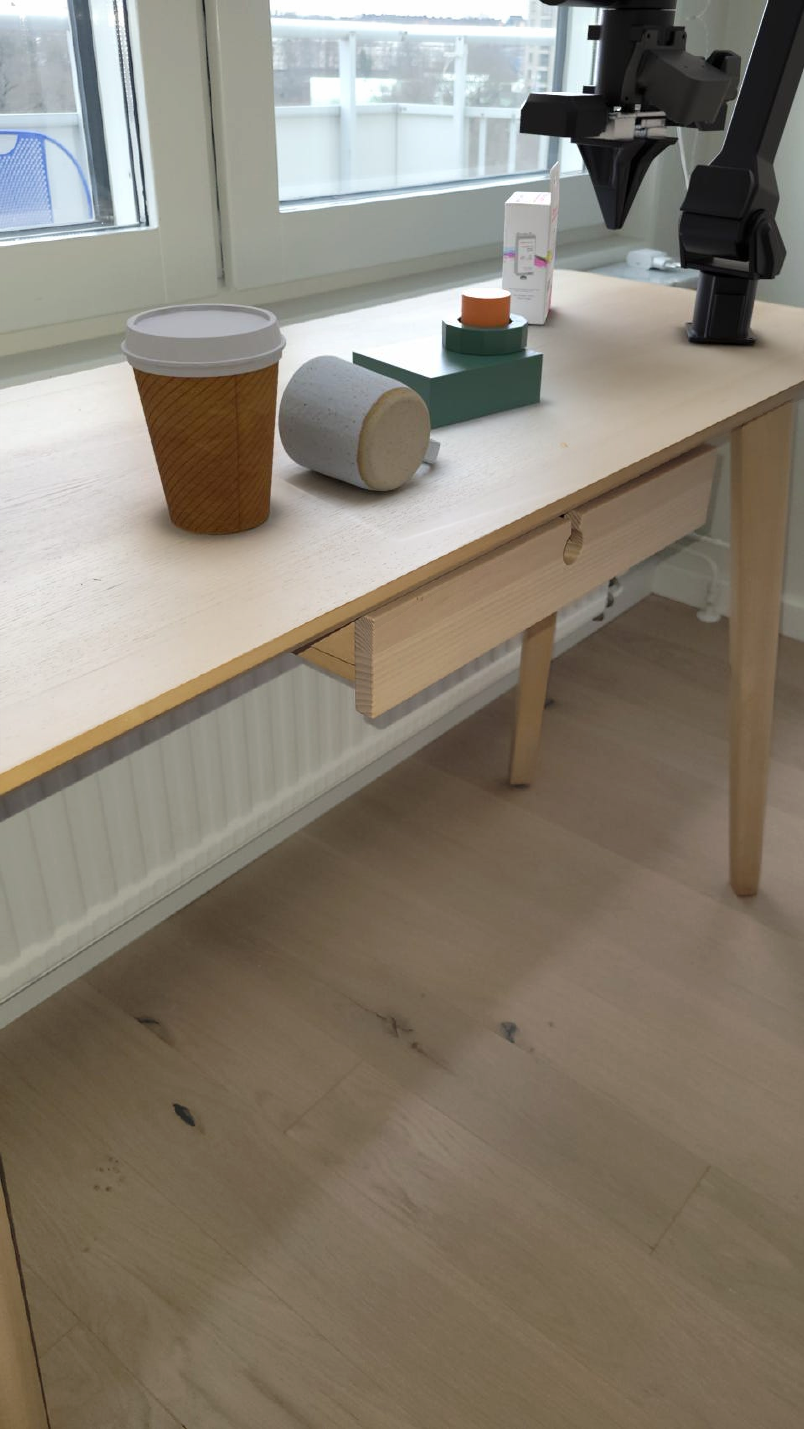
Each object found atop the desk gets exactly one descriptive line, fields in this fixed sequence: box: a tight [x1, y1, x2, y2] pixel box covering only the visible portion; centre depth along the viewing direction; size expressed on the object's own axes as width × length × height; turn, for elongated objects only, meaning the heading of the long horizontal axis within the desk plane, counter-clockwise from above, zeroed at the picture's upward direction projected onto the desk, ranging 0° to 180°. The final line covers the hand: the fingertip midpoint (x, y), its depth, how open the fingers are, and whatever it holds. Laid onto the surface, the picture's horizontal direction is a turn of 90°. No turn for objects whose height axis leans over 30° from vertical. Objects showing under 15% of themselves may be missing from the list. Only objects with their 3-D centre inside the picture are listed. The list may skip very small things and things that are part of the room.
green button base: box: [351, 311, 544, 430], centre depth 88 cm, size 14×10×6 cm
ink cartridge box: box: [501, 160, 560, 325], centre depth 112 cm, size 9×5×15 cm, turn 168°
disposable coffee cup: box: [120, 303, 287, 535], centre depth 65 cm, size 10×10×12 cm
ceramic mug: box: [277, 354, 441, 492], centre depth 72 cm, size 11×8×8 cm
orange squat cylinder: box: [460, 287, 511, 327], centre depth 88 cm, size 4×4×2 cm
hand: (614, 229), depth 91 cm, fingers closed
